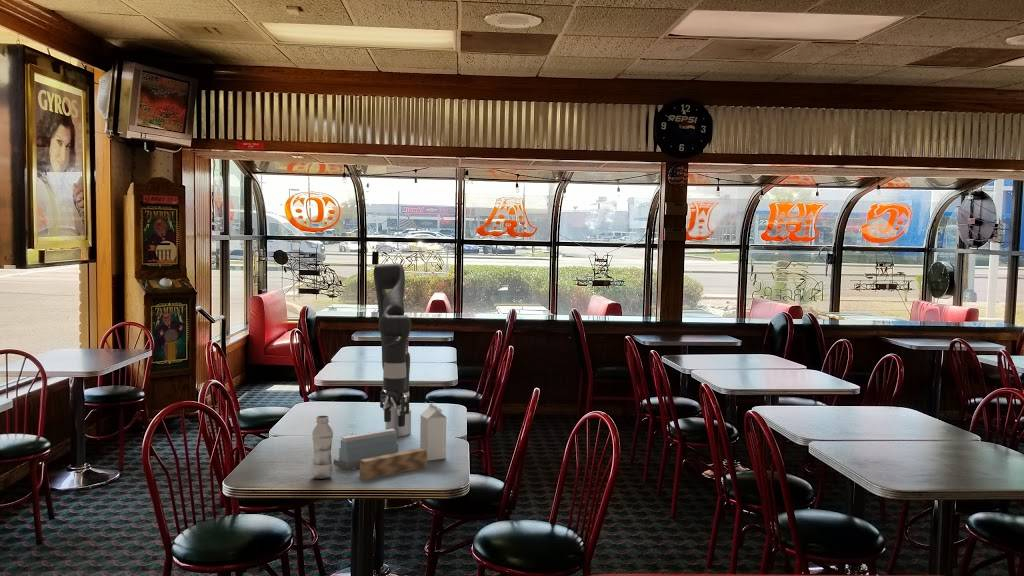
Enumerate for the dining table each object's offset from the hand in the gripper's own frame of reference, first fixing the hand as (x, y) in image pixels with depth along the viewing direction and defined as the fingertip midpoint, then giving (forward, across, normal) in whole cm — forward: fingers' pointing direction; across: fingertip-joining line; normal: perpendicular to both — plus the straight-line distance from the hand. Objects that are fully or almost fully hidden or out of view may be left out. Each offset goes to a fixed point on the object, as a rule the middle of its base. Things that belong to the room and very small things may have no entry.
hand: (394, 424), depth 259 cm
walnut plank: (+16, 0, 0) cm, 16 cm away
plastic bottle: (+16, +8, +22) cm, 28 cm away
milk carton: (+16, +6, -20) cm, 27 cm away
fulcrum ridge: (+16, +16, 0) cm, 23 cm away
